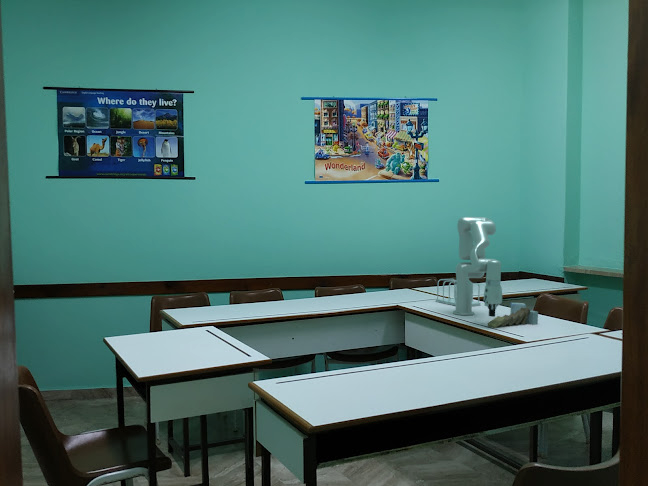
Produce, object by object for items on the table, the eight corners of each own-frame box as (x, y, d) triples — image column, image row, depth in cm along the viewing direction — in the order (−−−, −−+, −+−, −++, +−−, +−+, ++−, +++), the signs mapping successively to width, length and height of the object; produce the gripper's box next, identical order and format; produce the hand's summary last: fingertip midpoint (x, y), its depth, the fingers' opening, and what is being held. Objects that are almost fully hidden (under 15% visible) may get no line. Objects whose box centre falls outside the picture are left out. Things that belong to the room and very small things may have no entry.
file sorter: (480, 305, 415) (481, 282, 414) (461, 307, 406) (462, 283, 405) (454, 300, 437) (455, 278, 436) (435, 302, 428) (436, 279, 427)
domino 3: (509, 323, 346) (519, 314, 350) (501, 321, 350) (511, 312, 354) (510, 326, 347) (520, 317, 350) (503, 324, 351) (513, 315, 355)
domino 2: (501, 323, 343) (512, 316, 347) (494, 322, 347) (505, 314, 352) (502, 327, 344) (513, 319, 348) (495, 325, 348) (506, 317, 352)
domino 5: (522, 322, 352) (528, 308, 354) (515, 321, 356) (521, 307, 358) (524, 324, 353) (530, 310, 355) (517, 322, 357) (523, 308, 359)
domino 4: (515, 322, 349) (524, 311, 352) (508, 321, 353) (517, 310, 356) (517, 325, 350) (526, 314, 353) (510, 323, 354) (519, 312, 357)
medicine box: (523, 317, 375) (524, 303, 375) (525, 318, 371) (525, 304, 370) (510, 316, 376) (510, 302, 376) (511, 318, 372) (512, 303, 371)
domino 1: (494, 324, 340) (505, 317, 344) (487, 323, 344) (498, 316, 349) (495, 328, 340) (506, 320, 345) (488, 326, 345) (498, 319, 349)
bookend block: (532, 324, 353) (533, 312, 352) (518, 321, 361) (519, 309, 361) (537, 324, 355) (538, 311, 354) (523, 320, 363) (524, 309, 363)
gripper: (488, 284, 334) (487, 318, 335) (508, 283, 342) (506, 316, 343) (478, 282, 340) (476, 316, 342) (497, 281, 348) (496, 314, 349)
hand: (491, 316), depth 342 cm, fingers closed
